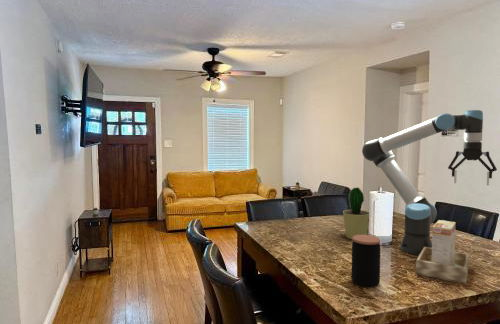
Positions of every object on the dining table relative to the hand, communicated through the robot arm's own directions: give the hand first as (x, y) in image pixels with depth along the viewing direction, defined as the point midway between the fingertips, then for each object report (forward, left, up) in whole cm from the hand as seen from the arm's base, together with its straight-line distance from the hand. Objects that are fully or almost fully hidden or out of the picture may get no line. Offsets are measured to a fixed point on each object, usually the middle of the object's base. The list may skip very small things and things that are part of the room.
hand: (471, 184), depth 167 cm
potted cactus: (-55, -6, -35) cm, 65 cm away
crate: (-8, -35, -35) cm, 50 cm away
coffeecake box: (-8, -35, -34) cm, 49 cm away
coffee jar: (-32, -67, -35) cm, 82 cm away
